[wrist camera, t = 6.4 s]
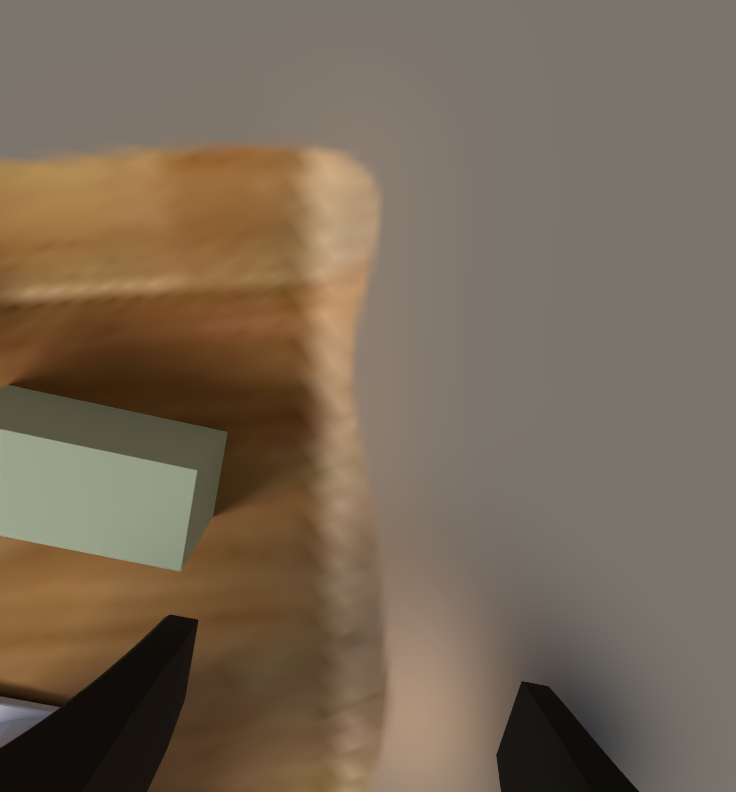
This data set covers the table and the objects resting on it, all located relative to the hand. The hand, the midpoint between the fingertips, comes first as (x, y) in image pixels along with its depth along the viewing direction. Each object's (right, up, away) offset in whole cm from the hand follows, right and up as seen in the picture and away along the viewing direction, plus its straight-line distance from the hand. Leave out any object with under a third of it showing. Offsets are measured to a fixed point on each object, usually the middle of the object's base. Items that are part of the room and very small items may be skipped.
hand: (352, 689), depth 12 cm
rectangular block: (-9, +4, +9) cm, 13 cm away
